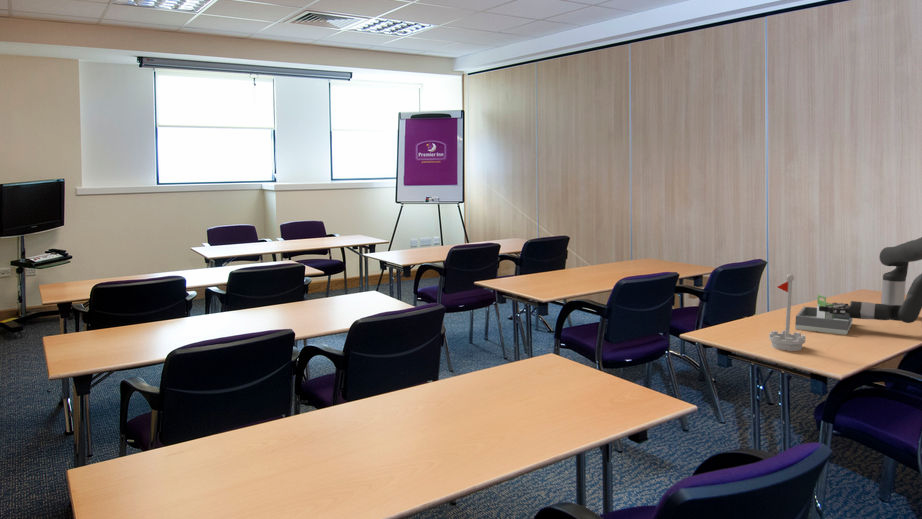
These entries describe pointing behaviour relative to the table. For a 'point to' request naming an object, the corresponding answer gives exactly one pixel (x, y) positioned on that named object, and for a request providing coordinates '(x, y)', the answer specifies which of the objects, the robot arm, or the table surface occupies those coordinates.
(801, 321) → the tray
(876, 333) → the table surface
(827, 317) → the ink box
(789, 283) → the flag stand
